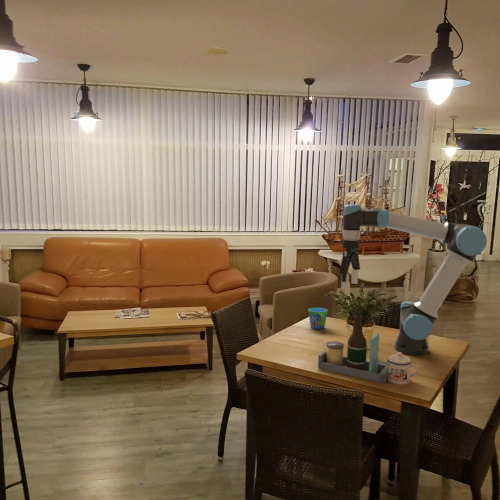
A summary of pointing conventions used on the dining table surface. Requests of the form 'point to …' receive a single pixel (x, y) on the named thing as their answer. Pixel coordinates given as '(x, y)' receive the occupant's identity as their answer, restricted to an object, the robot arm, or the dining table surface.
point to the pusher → (374, 354)
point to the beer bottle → (357, 346)
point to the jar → (334, 353)
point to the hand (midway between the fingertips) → (349, 286)
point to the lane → (351, 371)
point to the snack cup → (317, 317)
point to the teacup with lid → (399, 369)
